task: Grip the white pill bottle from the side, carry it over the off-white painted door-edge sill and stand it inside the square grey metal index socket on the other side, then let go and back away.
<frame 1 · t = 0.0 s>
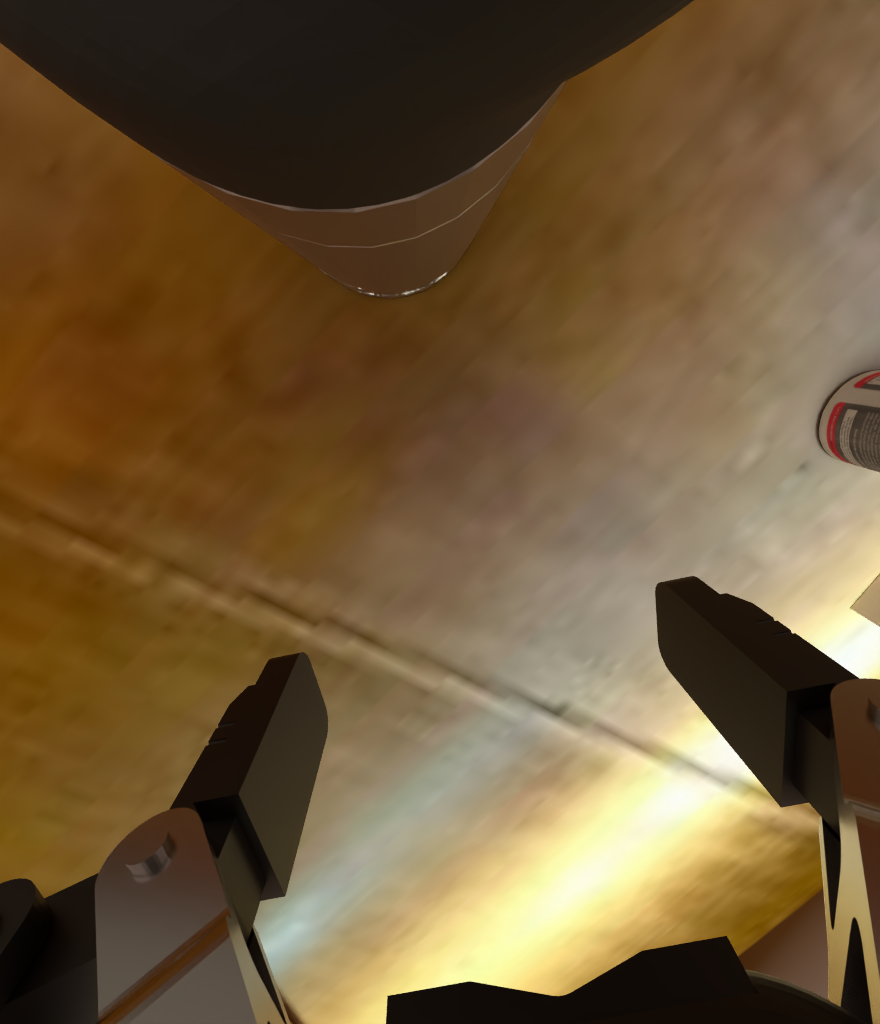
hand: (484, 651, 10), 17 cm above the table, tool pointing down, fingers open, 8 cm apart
pill bottle: (857, 415, 27), on the table
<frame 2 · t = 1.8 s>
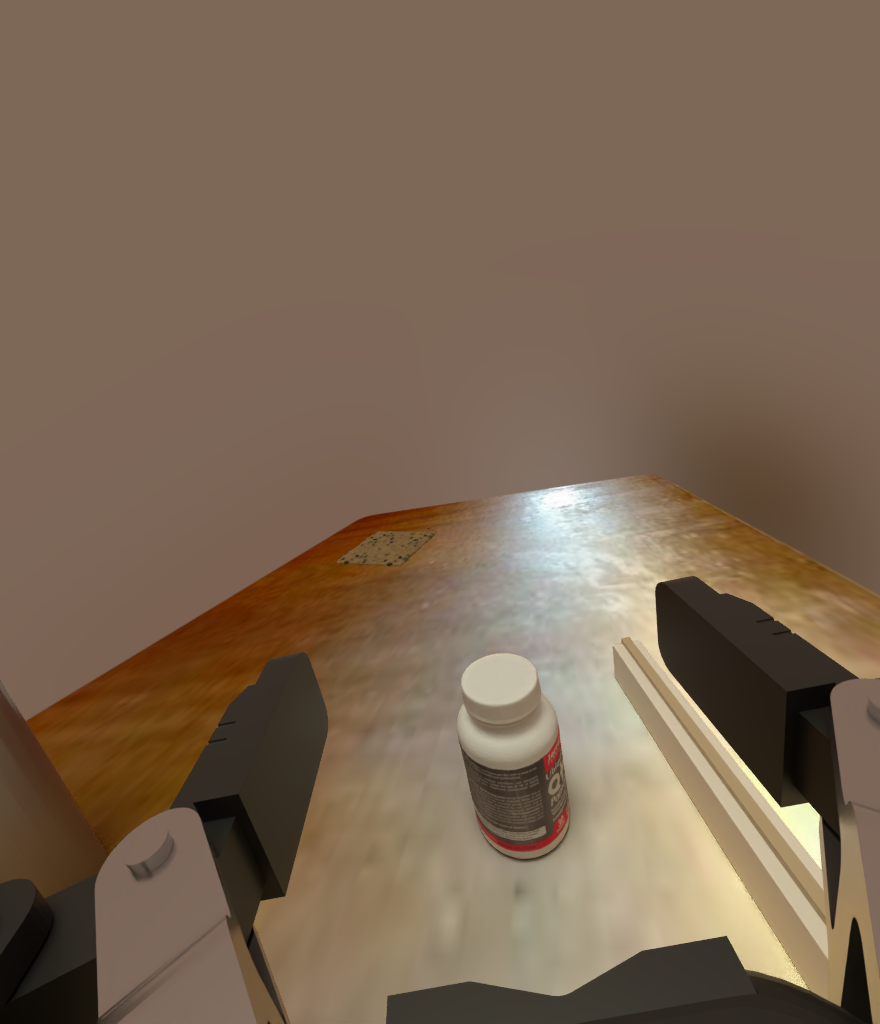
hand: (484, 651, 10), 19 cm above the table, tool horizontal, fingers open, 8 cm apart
pill bottle: (523, 815, 26), on the table
cookie: (389, 550, 70), on the table
door edge sill: (706, 792, 25), on the table
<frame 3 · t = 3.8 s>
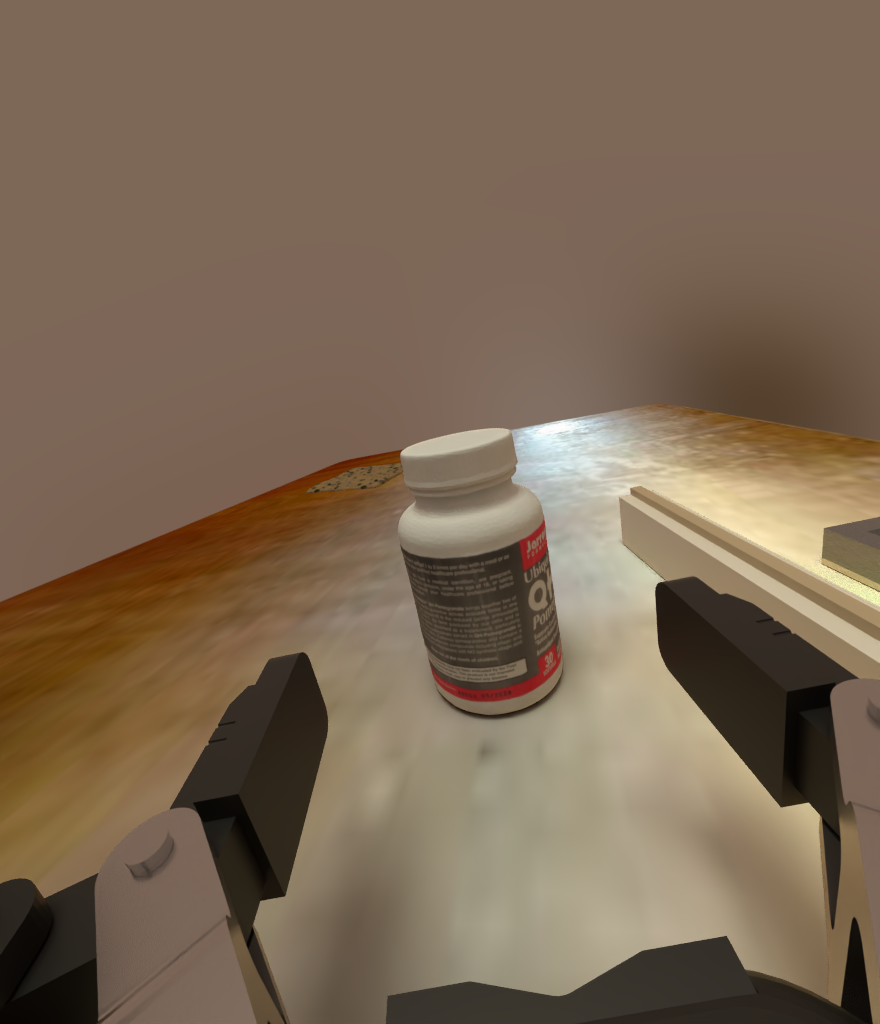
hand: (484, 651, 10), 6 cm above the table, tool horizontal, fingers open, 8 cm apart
pill bottle: (499, 674, 19), on the table
cookie: (366, 480, 63), on the table
door edge sill: (756, 631, 18), on the table
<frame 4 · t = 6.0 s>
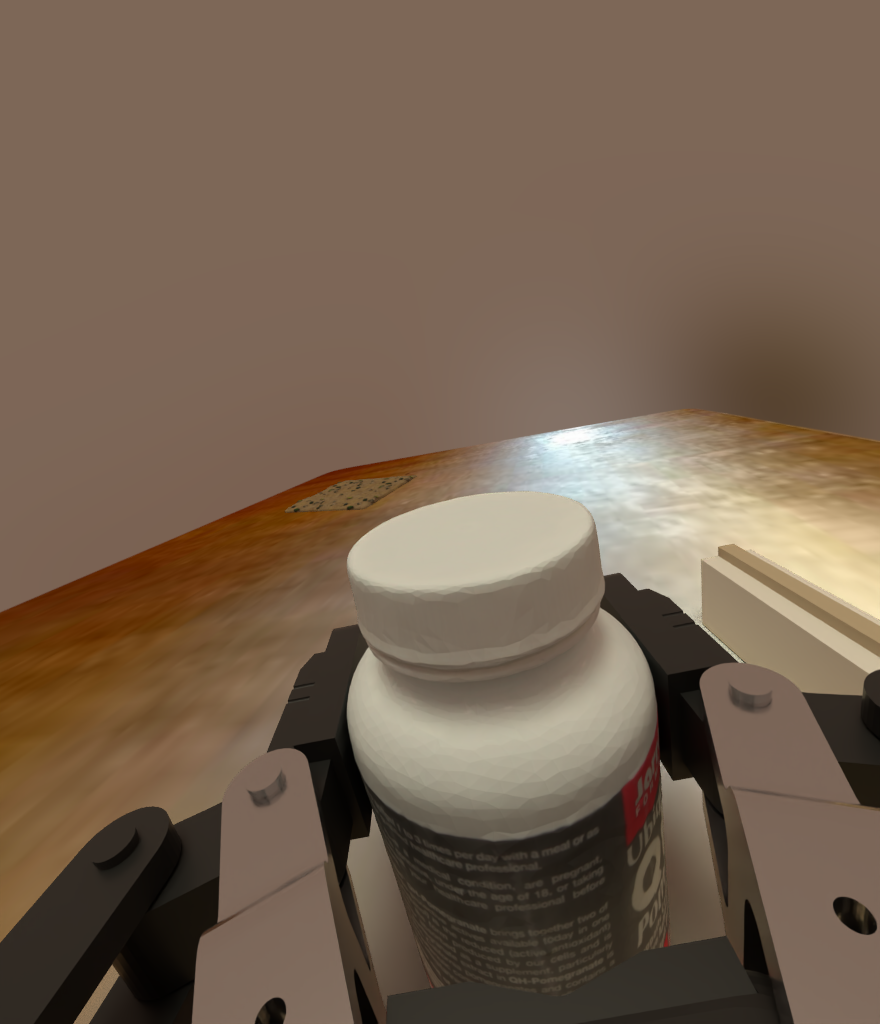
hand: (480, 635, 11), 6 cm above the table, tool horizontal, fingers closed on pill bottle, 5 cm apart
pill bottle: (541, 927, 10), on the table, touching gripper
cookie: (354, 497, 54), on the table
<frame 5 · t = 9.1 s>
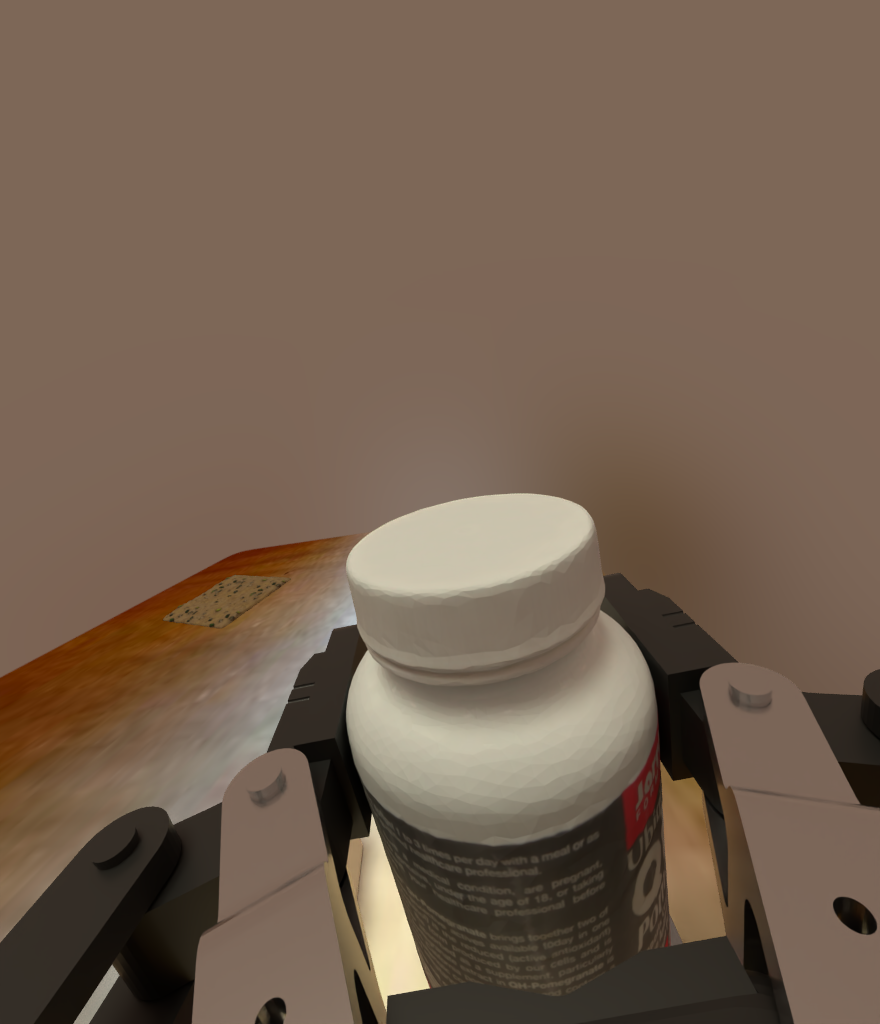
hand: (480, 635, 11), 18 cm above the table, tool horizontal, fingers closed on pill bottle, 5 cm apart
pill bottle: (541, 930, 10), point 12 cm above the table, touching gripper
cookie: (231, 602, 60), on the table
when the fingers open (7 cm above the table, at t = 12.3 s): pill bottle stays where it is, resting on index socket.
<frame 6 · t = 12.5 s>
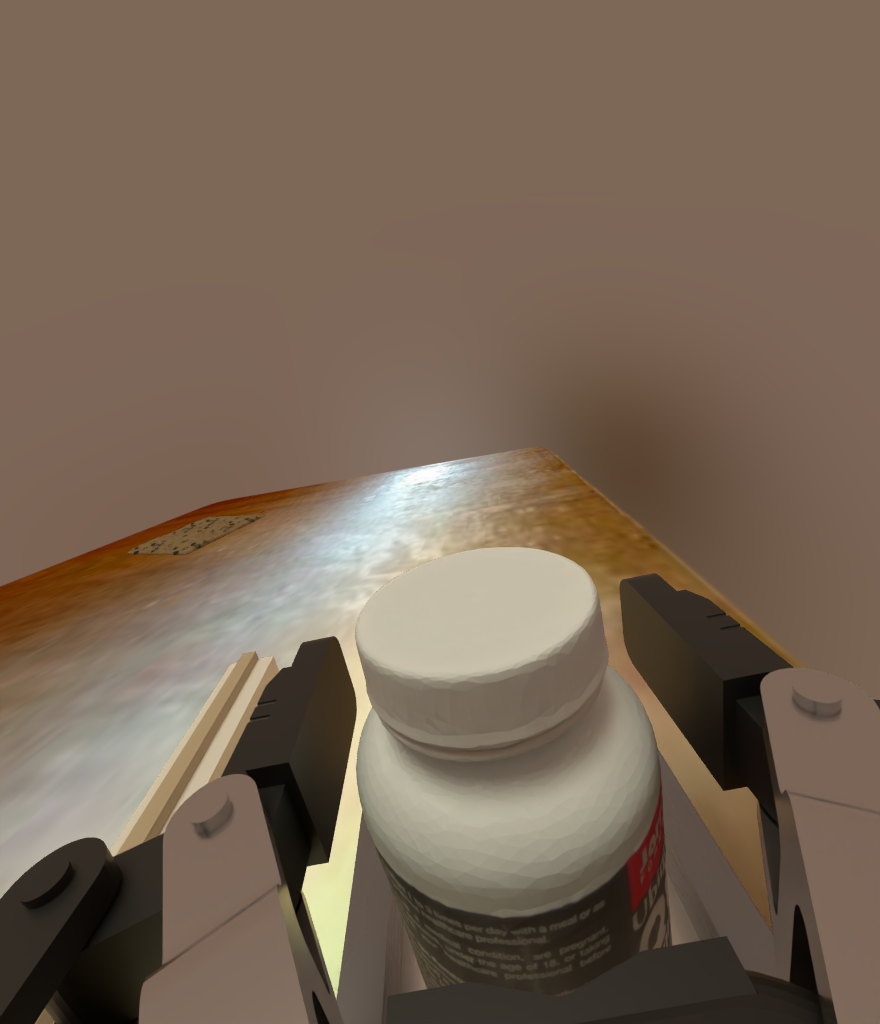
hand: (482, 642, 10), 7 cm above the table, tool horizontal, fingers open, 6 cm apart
pill bottle: (548, 965, 10), resting on index socket
cookie: (201, 537, 57), on the table
door edge sill: (150, 995, 12), on the table
index socket: (548, 961, 11), on the table
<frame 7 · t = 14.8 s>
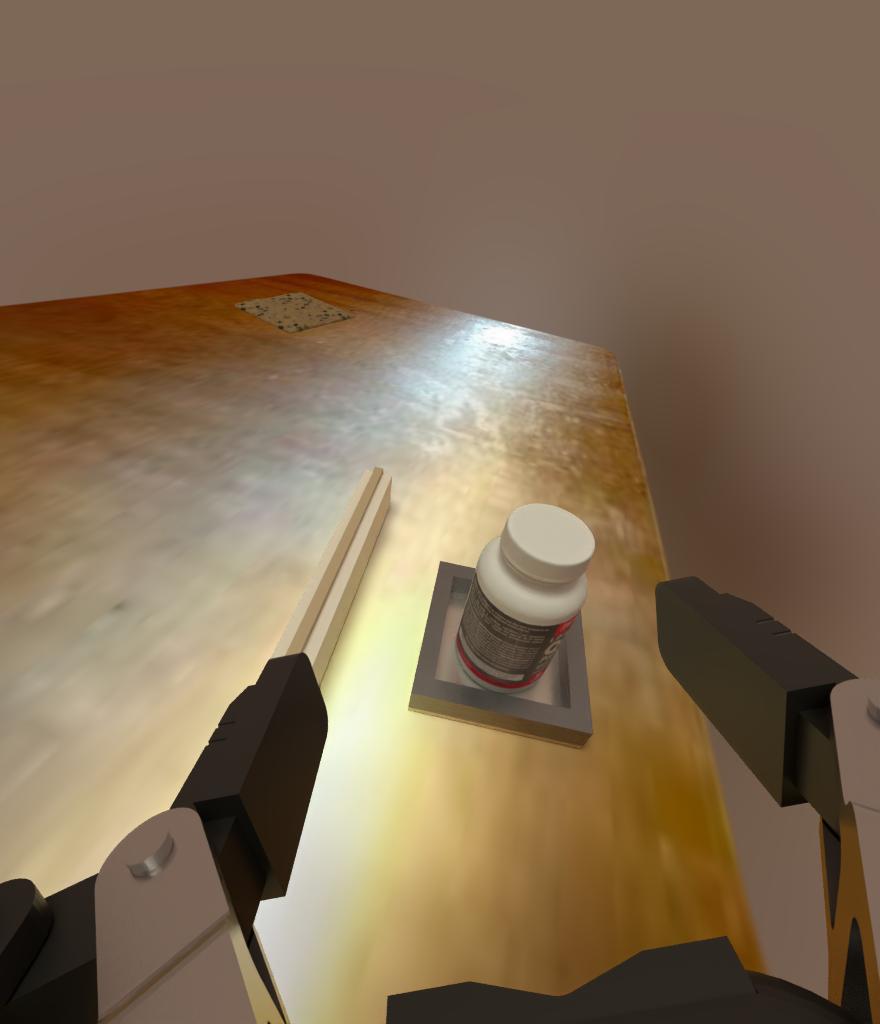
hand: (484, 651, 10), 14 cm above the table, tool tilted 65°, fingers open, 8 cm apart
pill bottle: (498, 653, 26), resting on index socket
cookie: (297, 315, 63), on the table
door edge sill: (333, 605, 27), on the table
index socket: (498, 652, 26), on the table
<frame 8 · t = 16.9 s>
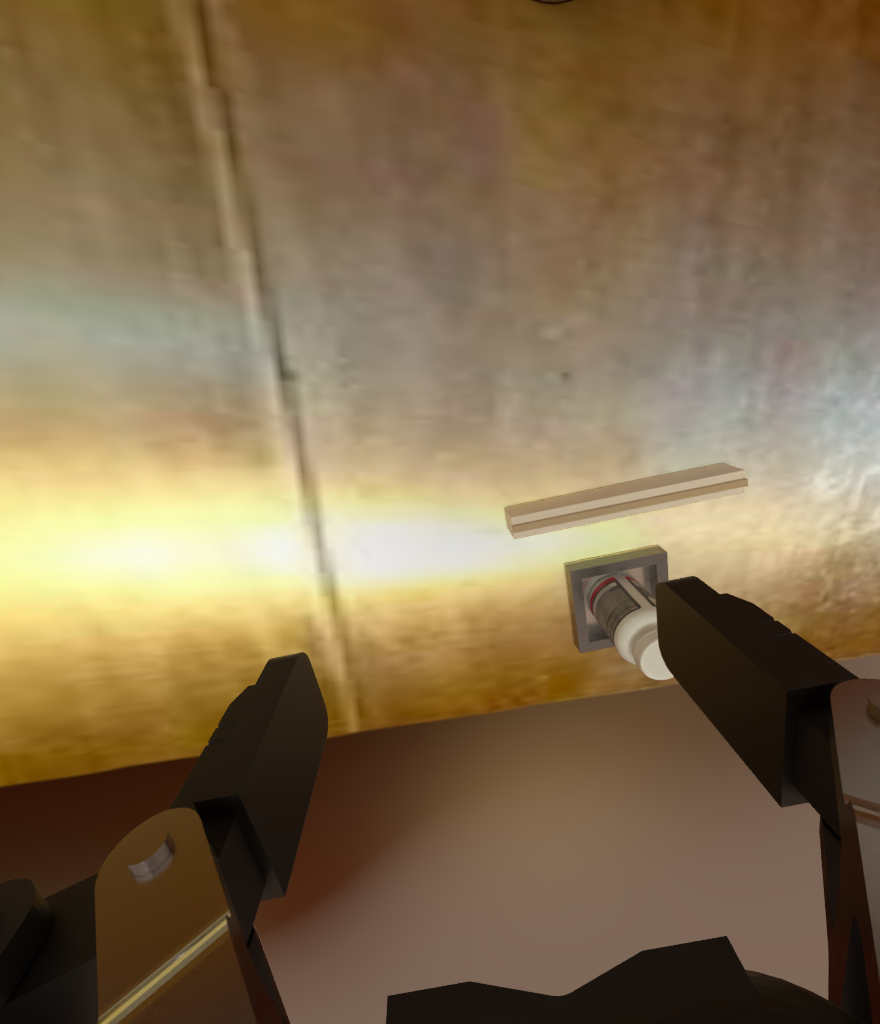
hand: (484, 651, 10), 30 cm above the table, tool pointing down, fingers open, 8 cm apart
pill bottle: (613, 595, 44), resting on index socket
door edge sill: (613, 495, 41), on the table
index socket: (614, 595, 44), on the table
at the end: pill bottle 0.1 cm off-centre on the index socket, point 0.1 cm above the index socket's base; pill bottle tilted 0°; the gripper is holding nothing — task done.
